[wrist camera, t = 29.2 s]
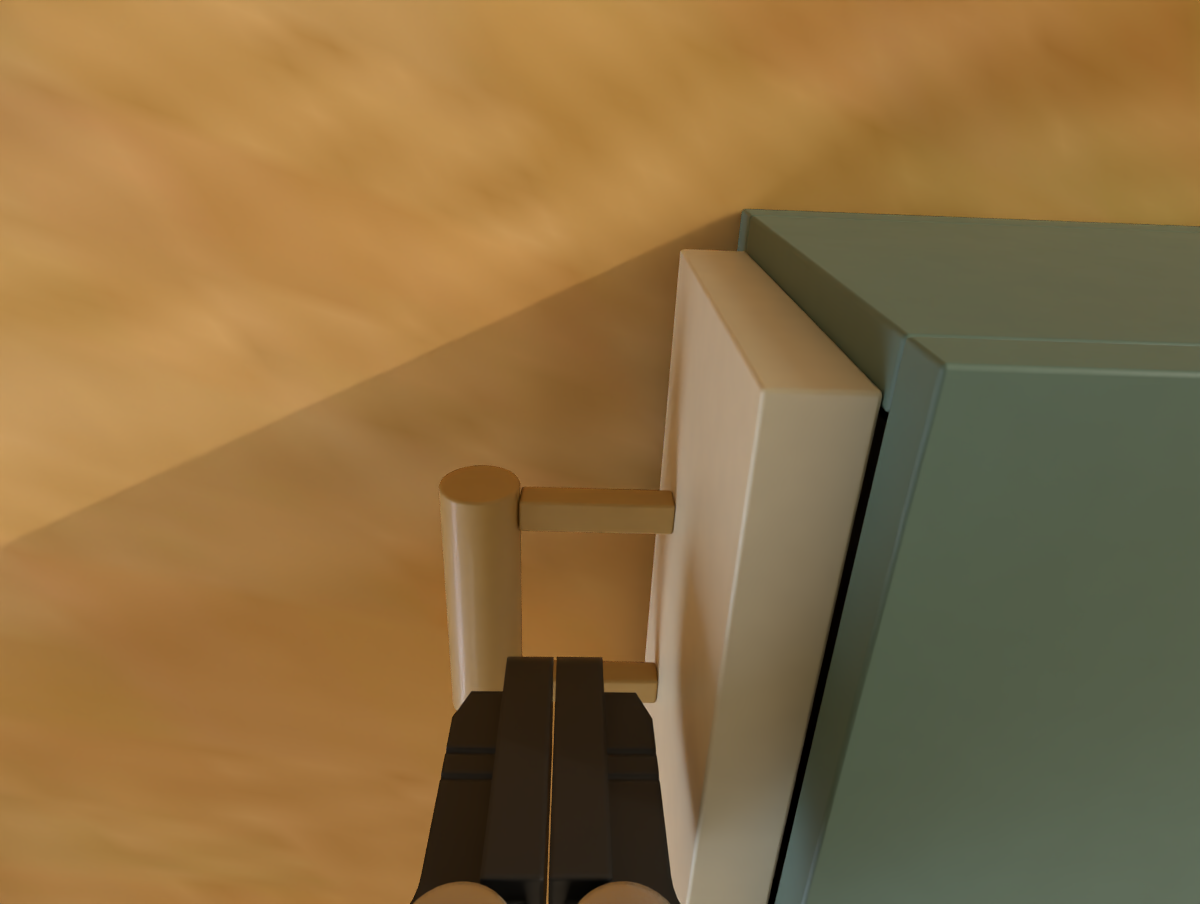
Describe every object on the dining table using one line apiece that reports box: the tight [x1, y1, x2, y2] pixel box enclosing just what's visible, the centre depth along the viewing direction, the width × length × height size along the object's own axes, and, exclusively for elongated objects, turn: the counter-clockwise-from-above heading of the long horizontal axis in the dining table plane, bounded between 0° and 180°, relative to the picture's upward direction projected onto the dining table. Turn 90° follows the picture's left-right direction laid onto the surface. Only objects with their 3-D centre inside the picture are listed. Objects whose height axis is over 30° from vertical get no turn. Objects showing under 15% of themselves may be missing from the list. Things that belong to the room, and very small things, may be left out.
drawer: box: [439, 249, 889, 904], centre depth 13 cm, size 18×12×7 cm
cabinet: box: [737, 209, 1200, 904], centre depth 13 cm, size 15×14×9 cm
